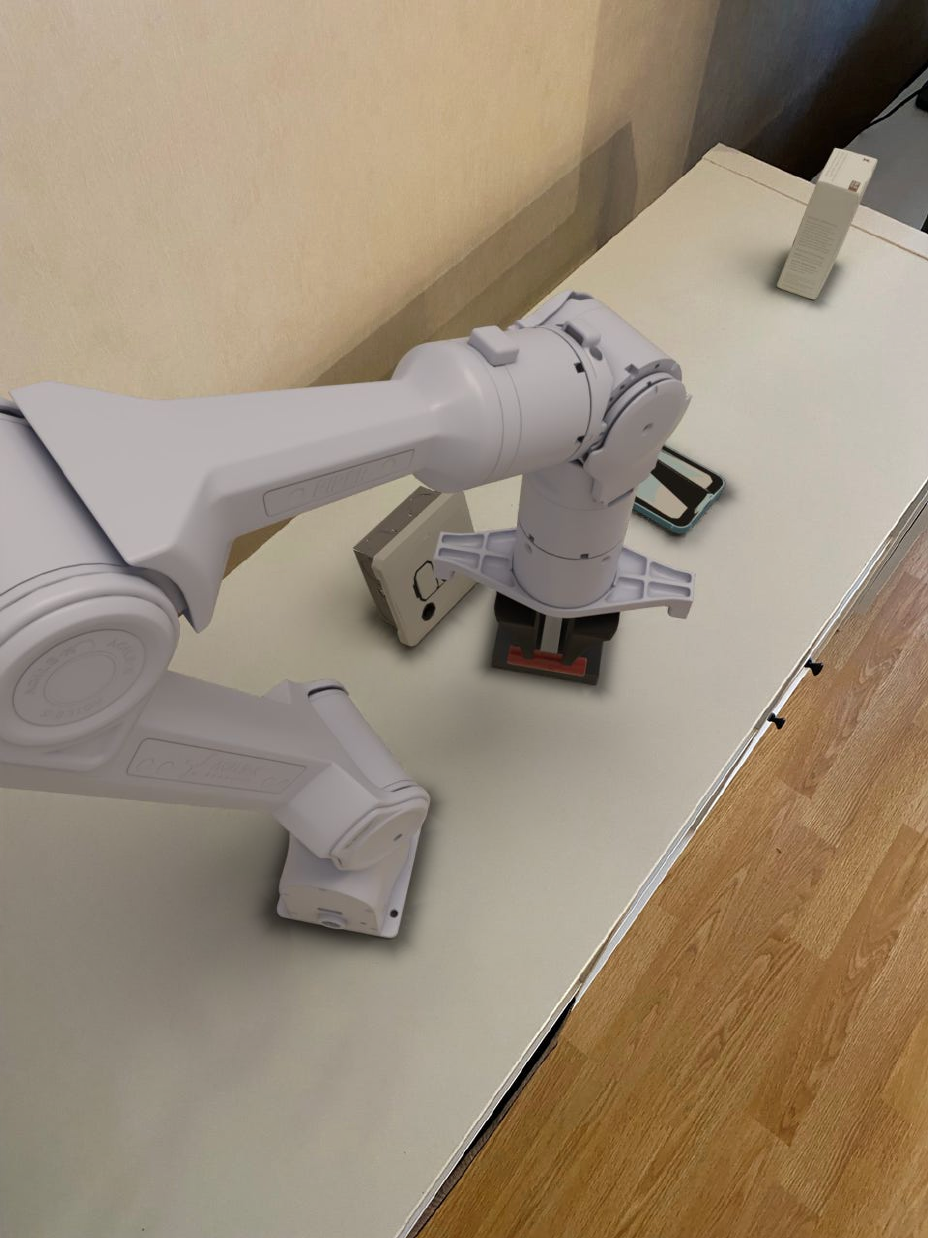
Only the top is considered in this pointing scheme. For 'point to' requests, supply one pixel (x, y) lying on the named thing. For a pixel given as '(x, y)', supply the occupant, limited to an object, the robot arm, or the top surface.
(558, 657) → the switch lever
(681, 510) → the smartphone
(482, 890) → the top surface
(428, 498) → the electrical switch
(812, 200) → the cosmetic box
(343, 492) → the robot arm
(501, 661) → the electrical switch base
